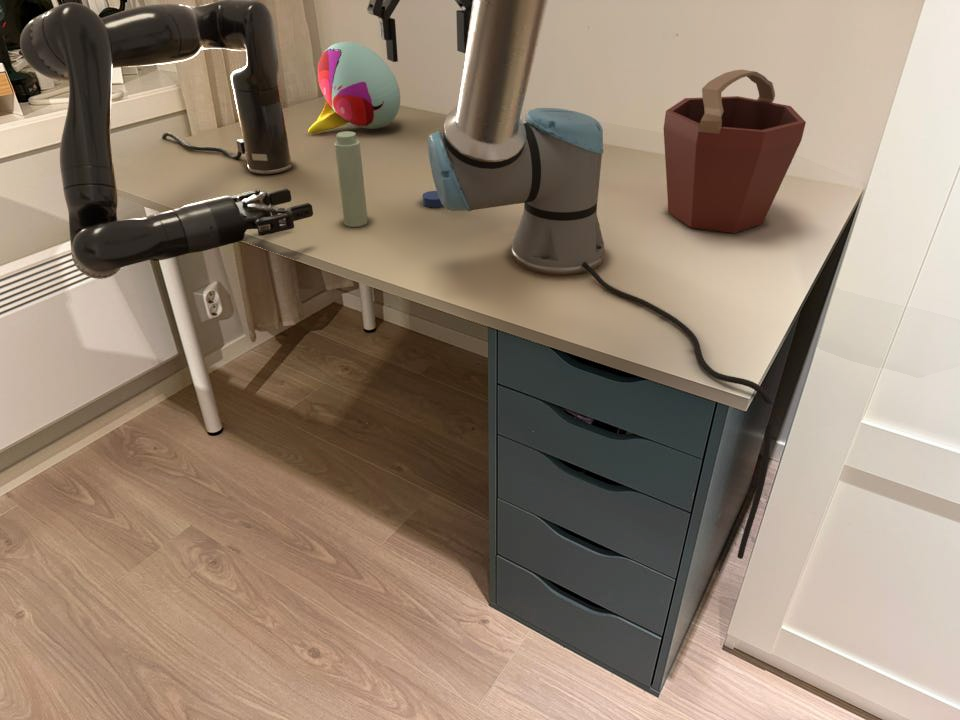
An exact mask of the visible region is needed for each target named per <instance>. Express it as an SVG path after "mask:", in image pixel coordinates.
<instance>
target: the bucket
mask: <svg viewBox="0 0 960 720" xmlns="http://www.w3.org/2000/svg"><path fill="white" fill-rule="evenodd" d="M746 77H747V78H748V79H749V80H750V81H751V82H752V83H754V84H755V85H756V88H757V91H758V98H757V99H754V98H750V97H744V96H739V95H736V96H733V95H732V96H731V95H730V96H722V92H724V91H725V90H726V89H727V88H728V87H729V86H730V85H732V84H734V83H735V82H737V81H738V80H740V79H743V78H746ZM701 96H702V97H685V98H683V99H682V100H680V101H679V102H677V103H676V104H674V105H672V106H670V107H669V108H668V109H667V110H665V115H664V122H663V143H664V156H665V157H664V159H665V161H664V162H665V177H666V179H665V180H666V192H667V193H666V194H667V196H666V197H667V212H668V214H670V215H671V216H672V217H674V218H676V219H677V220H679V221H680V222H681V223H683V224H684V225H686V226H687V227H689V228H691V229H698V230H707V231H715V232H721V233H732V234H735V233H739V232H742V231H745V230H749V229H751V228H754V227H757V226H760V225H762V224H764V222H765V219H766V218H767V215H768V213H769V211H770V209H771V207H772V205H773V202H774V201H775V198H776V196H777V195H778V192H779V189H780V187H781V185H782V183H783V181H784V179H785V177H786V175H787V173H788V170H789V168H790V167H791V164H792V162H793V159H794V158H795V155H796V153H797V151H798V150H799V149H798V148H799V147H800V145H801V142H802V139H803V135H804V132H805V128H806V125H807V124H806V120H805V119H804V118H803V117H802V116H801V115H800V114H799V113H798V112H797V111H796V110H795V109H794V108H793V107H792V106H791V105H787V104H781V103H776V102H774V101H775V98H776V92H775V88H774V83H773V82H772V81H771V80H769V79H768V78H767V77H766V76H765V75H763V74H761V73H760V72H758V71H755V70H748V69H735V70H732V71H727V72H724V73H722V74H720V75H717V76H716V77H714V78H713V79H711V80H709V81H708V82H707V83H706V84H705V85H704V86H703V87H702V88H701Z"/></svg>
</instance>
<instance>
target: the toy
mask: <svg viewBox="0 0 960 720" xmlns="http://www.w3.org/2000/svg"><path fill="white" fill-rule="evenodd" d="M317 81H318V85H319V88H320V91H321V93H322V95H323V97H324V99H325V102H324V108H323V109H322V111H321V113H320V114H319V116H318V118H317V119H316V120H315V121H314V123H312V124H311V126H310V127H309V128H308V129H307V132H308V134H318V133H322V132H325V131H329V130H333V129H336V128H339V127H342V126H345V125H347V124H351V125H353V126H356V127H358V128H361V129H366V130H378V129H382V128H384V127H386V126H388V125H390V124H391V123H392V122H393V121H394V120H395V118H396V117H397V115H398V113H399V111H400V107H401V91H400V86H399V84H398V80H397V78H396V76H395V74H394V72H393V71H392V69H391V67H390V66H389V65H388V64H387V62H386V61H385V60H384V59H383V58H382V57H381V56H380V55H379V54H378V53H376V52H375V51H374V50H372V49H370V48H369V47H367V46H365V45H362V44H360V43H357V42H353V41H352V42H351V41H341V42H337V43H336V42H335V43H334V44H332V45H330V46H329V47H327V48H326V49H325V50H324V51H323V52H322V54H321V56H320V58H319V61H318V64H317Z"/></svg>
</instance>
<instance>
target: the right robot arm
mask: <svg viewBox="0 0 960 720" xmlns="http://www.w3.org/2000/svg"><path fill="white" fill-rule="evenodd" d="M400 1H401V0H369V2H368V5H367V7H366V11H367V13H368V14H370V15H372V16H375V17H377V18H378V20H379V29H380V30H379V32H380V38H381V40H384V41H385V46H386V47H385V48H386V59H387V60H388V61H390V62H393V63H398V62H399V57H398V42H397V29H396V28H397V26H396V18H393V17H392V14H393V13H394V11H395V10H396V8H397V6H398V4H399V3H400ZM454 1H455V2H456V4H457V5H458V7H459V10H458V9H457V10H455V12H456V13H455V16H456V17H455V18H456V19H455V20H456V51H457V52H460V53H462V54H464V61H463V66H462V67H463V68H462V73H461V75H462V76H461V82H460V87H459V96H458V104H457V105H456V106H455V107H453V109H452V108H451V110H450V111H449V112H448V113H447V115H446V118H445V120H444V125H443V131H441V130H436V131H434V132H432V133H430V134H429V135H428V138H427V151H428V158H429V165H430V169H431V175H432V179H433V183H434V187H435V191H437V193H438V196H439V199H440V201H441V203H442V205H443V206H442V207H443V208H445V209H446V210H447V211H450V212H472V211H476V210H484V209H490V208H491V209H492V208H497V207H505V206H512V205H519V204H523V212H522V215H521V218H520V220H519V224H518V226H517V229H516V232H515V234H514V237H513V240H512V245H511V257H512V259H513V261H514V262H515V263H516V264H517V265H519V267H521V268H524V269H526V270H528V271H530V272H532V273H533V272H534V273H537V274H541V275H547V276H558V277H559V276H560V277H561V276H573V275H574V276H575V275H580V274H584V273H589V274H590V275H591V276H592V277H593V278H594V279H595V280H596V281H597V283H598V284H599V285H600V286H602V288H604V289H605V290H607V291H609V292H610V293H612V294H614V295H616V296H618V297H621V298H623V299H626V300H628V301H632V302H634V303H636V304H639V305H640V306H641V305H642V306H643V307H645V308H647V309H649V310H651V311H653V312H655V313H656V314H658V315H659V316H662V317H663V318H665V319H667V320H668V321H670V322H671V323H673V324H674V325H676V326H677V327H678V328H679V329H680V330H682V332H684V333H685V334H686V336H687V337H689V339H690V341H691V342H692V345H693V347H694V352H695V357H696V360H697V362H698V365H699V366H700V368H702V370H704V372H706V373H707V374H708V375H709V376H711V377H712V378H714V379H717V380H719V381H722V382H725V383H731V384H737V385H740V386H744V387H748V388H749V389H752V390H754V391H755V392H757V393H758V394H759V396H761V398H762V399H763V401H764V402H765V403H766V404H768V405H772V404H774V403H773V400H772V398H771V396H770V395H769V393H768V392H767V391H766V390H765V389H764V388H763V387H762V386H761V385H759V383H756V382H754V381H752V380H749V379H746V378H743V377H742V378H741V377H737V376H732V375H727V374H723V373H720V372H719V371H716V370H714V369H713V368H712V367H711V366H710V365H708V363H707V361H706V360H705V358H704V355H703V353H702V348H701V344H700V341H699V339H698V338H697V336H696V334H695V333H694V332H693V331H692V330H691V329H690V327H688V326H687V325H685V324H684V323H683V322H682V321H681V320H679V319H678V318H676V317H675V316H673V315H671V314H670V313H668V312H667V311H666V310H663V309H662V308H660V307H658V306H656V305H654V304H653V303H651V302H649V301H647V300H645V299H642V298H640V297H637V296H636V295H632V294H629V293H627V292H624V291H621V290H619V289H617V288H615V287H613V286H612V285H610V284H608V282H606V281H604V279H603V278H602V277H601V276H600V275H599V274H598V273H597V271H596V270H595V269H596V268H598V267H599V266H600V265H601V264H602V263H603V261H604V258H605V242H604V239H603V233H602V230H601V226H600V222H599V218H598V213H597V212H598V201H599V200H598V199H599V189H600V179H601V171H602V170H601V169H602V159H603V154H604V129H603V126H602V124H601V123H600V121H598V120H597V119H596V118H595V117H592V116H591V115H589V114H585V113H583V112H579V111H575V110H570V109H564V108H556V107H535V108H533V109H530V110H528V111H527V113H526V115H525V118H524V119H525V122H523V120H522V119H521V115H522V111H523V108H524V103H525V99H526V94H527V90H528V86H529V81H530V78H531V73H532V69H533V65H534V61H535V57H536V52H537V48H538V44H539V42H540V41H539V39H540V36H541V32H542V28H543V24H544V19H545V15H546V11H547V7H548V3H549V0H454ZM773 428H774V421H773V422H771V423H769V424H767V425H765V429H764V437H763V438H764V439H763V448H762V456H761V465H760V469H759V476H758V481H757V484H756V489H755V492H754V497H753V501H752V503H751V507H750V510H749V513H748V517H747V520H746V523H745V527H744V530H743V533H742V537H741V540H740V543H739V548H738V552H737V555H736V556H737V559H739V560H742V559H743V558H744V555H745V552H746V548H747V544H748V541H749V537H750V534H751V531H752V527H753V524H754V521H755V518H756V516H757V515H756V514H757V511H758V509H759V505H760V502H761V499H762V495H763V491H764V486H765V483H766V479H767V478H766V477H767V471H768V468H769V467H768V466H769V459H770V454H771V453H770V452H771V445H772V444H771V443H772V434H773Z"/></svg>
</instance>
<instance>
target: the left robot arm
mask: <svg viewBox="0 0 960 720" xmlns="http://www.w3.org/2000/svg"><path fill="white" fill-rule="evenodd" d="M276 38H277V37H276V29H275V23H274V20H273V16H272V14H271V11H270V9H269V8H268V6H267V5H266V4H265V3H264V2H262V1H259V0H217V1H215V2H211V3H207V4H203V5H199V6H189V5H184V4H177V3H162V4H147V5H140V6H136V7H132V8H129V9H125V10H122V11H119V12H116V13H113V14H110V15H107V16H104V17H100V16H99V15H98V14H97V13H96V12H95V10H92V8H90V7H88V6H87V5H85V4H82V3H79V2H72V1H71V2H65V3H62V4H59V5H57V6H55V7H52V8H51V9H49V10H47V11H44V12H43V13H42V14H39V15H38V16H36V17H34V18H32V19H31V20H30V21H29V22H28V23H27V24H26V25H25V26H24V28H23V29H22V32H21V33H20V38H19V46H20V52H21V54H22V56H23V59H24V60H25V61H26V62H27V63H28V65H29V66H30V67H31V68H32V69H34V70H35V71H36V72H37V73H39V74H40V75H42V76H44V77H46V78H49V79H51V80H55V81H61V82H68V86H69V87H68V90H69V91H68V92H69V93H68V103H67V104H68V106H67V111H66V116H65V121H64V125H63V130H62V134H61V141H60V147H59V168H60V174H61V182H62V189H63V190H62V191H63V194H64V199H65V204H66V207H67V212H68V227H69V240H70V241H69V242H70V251H71V252H70V253H71V259H72V261H73V264H74V266H75V268H76V269H78V271H79V272H80V273H82V274H83V275H85V276H87V277H89V278H92V279H98V280H103V279H107V278H111V277H113V276H114V275H116V274H117V273H118V272H119V271H120V270H121V268H125V267H127V266H131V265H136V264H139V263H143V262H146V261H154V262H155V261H156V262H157V261H165V260H169V259H173V258H176V257H180V256H183V255H188V254H193V253H200V252H205V251H209V250H212V249H216V248H221V247H223V246H227V245H231V244H235V243H238V242H242V241H243V240H244V239H245V234H246V232H247V230H257V233H258V236H260V237H263V236H267V235H272V234H275V233H280V232H284V231H288V230H292V229H295V221H299V220H303V219H307V218H311V217H313V215H314V210H313V205H312V204H311V203H309V202H305V203H302V204H298V205H294V206H290V207H278V205H283V204H286V203H291V201H292V193H291V190H290V189H288V188H284V189H279V190H273V191H271V192H268V191H262V192H261V190H260V189H254V190H250V191H246V192H242V193H237V194H233V195H223V196H219V197H214V198H211V199H206V200H201V201H197V202H192V203H188V204H186V205H182V206H180V207H177V208H175V209H172V210H171V209H170V210H167V211H161V212H158V213H155V214H150V215H147V216H144V217H139V218H127V219H118V215H117V210H118V200H119V199H118V189H117V182H116V173H115V167H114V161H113V152H112V151H113V150H112V140H111V139H112V137H111V136H112V135H111V134H112V133H111V119H112V118H111V116H112V113H111V112H112V79H113V78H112V76H113V69H114V68H134V67H146V66H154V65H166V64H173V63H179V62H184V61H187V60H190V59H193V58H194V57H195V56H197V55H198V54H199V53H200V51H201V50H202V51H203V50H209V49H212V50H213V49H218V50H229V51H237V52H246V65H245V66H243V67H242V68H239V69H236V70H234V71H232V73H231V74H230V81H231V86H232V90H233V95H234V101H235V105H236V110H237V117H238V121H239V126H240V131H241V137H242V138H239V139H236V140H235V142H236V146H237V153H236V154H235V155H233V154H232V153H231V152H229V151H228V150H226V149H224V148H222V147H217V146H198V145H192V144H189V143H187V142H186V141H185V140H184V139H182V138H180V137H178V136H177V135H175V134H174V133H171V132H166V131H165V132H164V133H162V136H161V139H163V140H164V139H167V137H169V138H172V139H173V140H175V141H176V142H179V143H180V144H181V145H182V146H183V147H185V149H188V150H192V151H199V152H218V153H221V154H224V155H225V156H226V157H229V158H230V159H233V160H239V159H240V158H242V155H245V158H246V162H247V170H248V171H249V172H250V173H252V174H255V175H275V174H279V173H283V172H286V171H289V170H290V169H291V168H293V162H292V158H291V153H290V146H289V139H288V134H287V127H286V121H285V115H284V108H283V102H282V96H281V91H280V85H279V77H278V76H279V69H280V68H279V67H280V65H279V58H278V49H277V39H276Z"/></svg>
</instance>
